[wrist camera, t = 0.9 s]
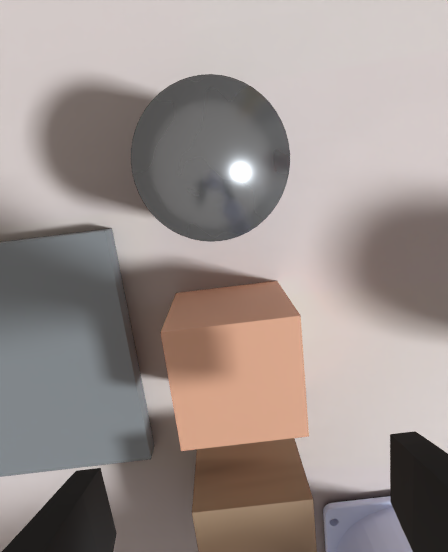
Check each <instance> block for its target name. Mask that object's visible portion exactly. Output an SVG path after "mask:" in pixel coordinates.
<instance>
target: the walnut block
mask: <svg viewBox="0 0 448 552" xmlns="http://www.w3.org/2000/svg"><path fill="white" fill-rule="evenodd" d="M192 517H193V522H194V528H195V534H196V540H197V545H198V551H199V552H317V549H316V534H315V520H314V505H313V497H312V494H311V491H310V488H309V484H308V481H307V478H306V475H305V472H304V468H303V465H302V462H301V459H300V455H299V452H298V449H297V446H296V443H295V439H294V438H290V439H281V440H273V441H264V442H255V443H247V444H238V445H230V446H221V447H212V448H204V449H197V454H196V467H195V479H194V492H193V505H192Z"/></svg>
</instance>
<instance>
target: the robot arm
mask: <svg viewBox="0 0 448 552" xmlns="http://www.w3.org/2000/svg"><path fill="white" fill-rule="evenodd" d="M390 483H391V496H387V497H378V498H369V499H361V500H352V501H343V502H335V503H329V504H327V505H326V506H325V507H324V509H323V517H324V533H325V549H326V552H448V454H447V453H446V452H444V451H443V450H442V449H440V448H439V447H437V446H436V445H434V444H433V443H432V442H430V441H429V440H427V439H426V438H424V437H423V436H421V435H420V434H418V433H417V432H407V433H398V434H390ZM331 519H333V520H331ZM115 538H116V530H115V526H114V522H113V518H112V513H111V509H110V505H109V501H108V497H107V493H106V489H105V485H104V481H103V477H102V472H101V468H97V469H89V470H80V471H76V472H75V473H74V474H73V475H72V476H71V477H70V478H69V479H68V480H67V481H66V482H65V483H64V484H63V486H62V487H61V488H60V489H59V490H58V491H57V492H56V493H55V494H54V495H53V497H52V498H51V499H50V500H49V501H48V502H47V503H46V504H45V505H44V507H43V508H42V509H41V510H40V511H39V512H38V513H37V514H36V515H35V516H34V518H33V519H32V520H31V521H30V522H29V523H28V524H27V525H26V526H25V527H24V528H23V529H22V531H21V532H20V533H19V534H18V535H17V536H16V537H15V538H14V539H13V540H12V541H11V542H10V544H9V545H8V546H7V547H6V548H5V549H4V550H3V551H2V552H113V549H114V544H115Z"/></svg>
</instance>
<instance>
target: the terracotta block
mask: <svg viewBox="0 0 448 552" xmlns="http://www.w3.org/2000/svg"><path fill="white" fill-rule="evenodd" d="M160 333H161V338H162V344H163V350H164V356H165V361H166V367H167V373H168V378H169V384H170V390H171V396H172V401H173V407H174V413H175V419H176V424H177V430H178V436H179V442H180V447H181V451H186V450H195V449H204V448H212V447H221V446H230V445H238V444H247V443H255V442H264V441H273V440H281V439H290V438H299V437H307V436H309V432H308V417H307V403H306V388H305V374H304V360H303V345H302V331H301V316H300V314H299V313H298V311H297V310H296V308H295V307H294V305H293V304H292V302H291V301H290V299H289V298H288V297H287V295H286V294H285V292H284V291H283V289H282V288H281V286H280V285H279V283H278V282H277V281H272V282H263V283H255V284H247V285H238V286H230V287H221V288H213V289H205V290H196V291H188V292H180V293H176V295H175V297H174V300H173V302H172V305H171V307H170V310H169V312H168V315H167V317H166V320H165V322H164V325H163V327H162V330H161V332H160Z"/></svg>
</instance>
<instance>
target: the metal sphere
mask: <svg viewBox="0 0 448 552" xmlns="http://www.w3.org/2000/svg"><path fill="white" fill-rule="evenodd" d="M131 166H132V173H133V177H134V182H135V185H136V187H137V190H138V193H139V195H140V196H141V198H142V200H143V202H144V204H145V205H146V207H147V208H148V209H149V211H150V212H151V213H152V214H153V215H154V216H155V218H156V219H158V220H159V221H160V222H161V223H162V224H163V225H164V226H166V227H167V228H169V229H170V230H172V231H174V232H176V233H178V234H180V235H182V236H185V237H188V238H191V239H195V240H200V241H222V240H228V239H232V238H235V237H238V236H240V235H243V234H245V233H247V232H249V231H250V230H252V229H253V228H255V227H256V226H258V225H259V224H260V223H261V222H262V221H264V220H265V219H266V218H267V217H268V215H269V214H270V213H271V212H272V211H273V209H274V208H275V206H276V205H277V204H278V202H279V200H280V198H281V196H282V194H283V191H284V189H285V186H286V183H287V179H288V175H289V167H290V151H289V143H288V139H287V135H286V131H285V129H284V126H283V124H282V121H281V119H280V118H279V116H278V114H277V112H276V111H275V109H274V108H273V107H272V105H271V104H270V103H269V102H268V101H267V100H266V98H265V97H264V96H263V95H262V94H260V93H259V92H258V91H256V90H255V89H254V88H253V87H251V86H249V85H247V84H246V83H244V82H242V81H239V80H237V79H234V78H231V77H227V76H223V75H213V74H208V75H197V76H192V77H188V78H185V79H183V80H180V81H178V82H176V83H174V84H172V85H170V86H168V87H167V88H166V89H164V90H163V91H162V92H160V93H159V94H158V95H157V96H156V97H155V98H154V99H153V100H152V101H151V103H150V104H149V105H148V106H147V108H146V109H145V111H144V112H143V114H142V116H141V117H140V119H139V122H138V124H137V127H136V129H135V133H134V136H133V141H132V148H131Z"/></svg>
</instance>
